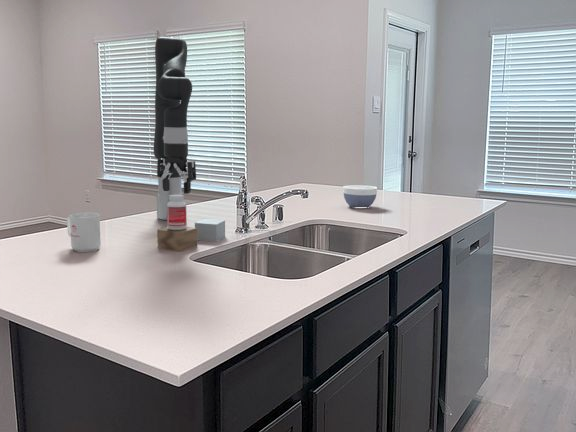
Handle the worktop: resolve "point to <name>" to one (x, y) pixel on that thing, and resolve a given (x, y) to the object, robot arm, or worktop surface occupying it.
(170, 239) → the walnut block
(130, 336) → the worktop surface
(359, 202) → the bowl
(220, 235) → the grey block
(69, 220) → the mug
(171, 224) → the pill bottle
